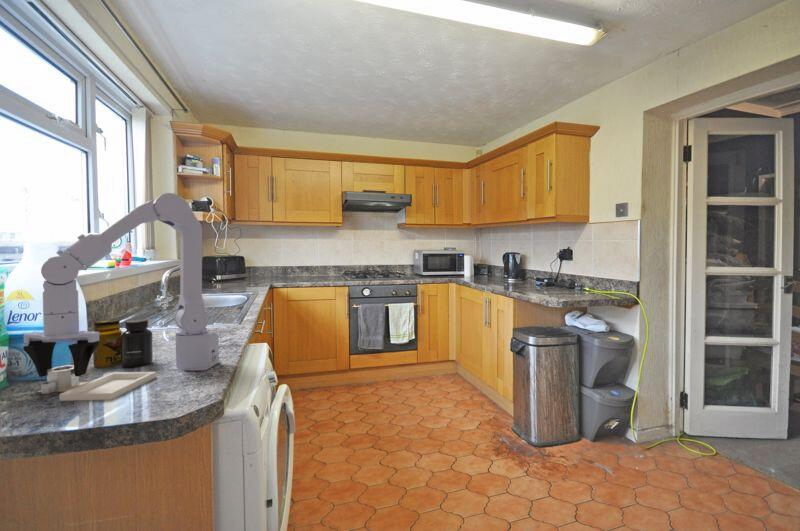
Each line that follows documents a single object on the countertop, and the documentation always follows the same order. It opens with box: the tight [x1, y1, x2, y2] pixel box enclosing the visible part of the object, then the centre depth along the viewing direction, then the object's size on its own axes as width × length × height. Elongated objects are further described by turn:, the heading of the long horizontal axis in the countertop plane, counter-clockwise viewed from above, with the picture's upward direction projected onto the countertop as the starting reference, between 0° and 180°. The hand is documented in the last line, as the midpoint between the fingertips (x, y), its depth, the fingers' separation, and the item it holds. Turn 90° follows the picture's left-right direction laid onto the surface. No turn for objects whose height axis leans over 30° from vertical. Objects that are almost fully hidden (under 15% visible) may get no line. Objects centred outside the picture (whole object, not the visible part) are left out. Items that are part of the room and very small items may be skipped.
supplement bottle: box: [120, 319, 154, 369], centre depth 99 cm, size 7×7×12 cm
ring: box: [40, 364, 80, 395], centre depth 81 cm, size 5×7×4 cm
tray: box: [58, 371, 157, 402], centre depth 81 cm, size 10×14×2 cm
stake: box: [36, 381, 89, 393], centre depth 82 cm, size 6×6×4 cm
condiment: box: [92, 319, 123, 368], centre depth 100 cm, size 7×8×12 cm
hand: (62, 375), depth 82 cm, fingers open, 7 cm apart
